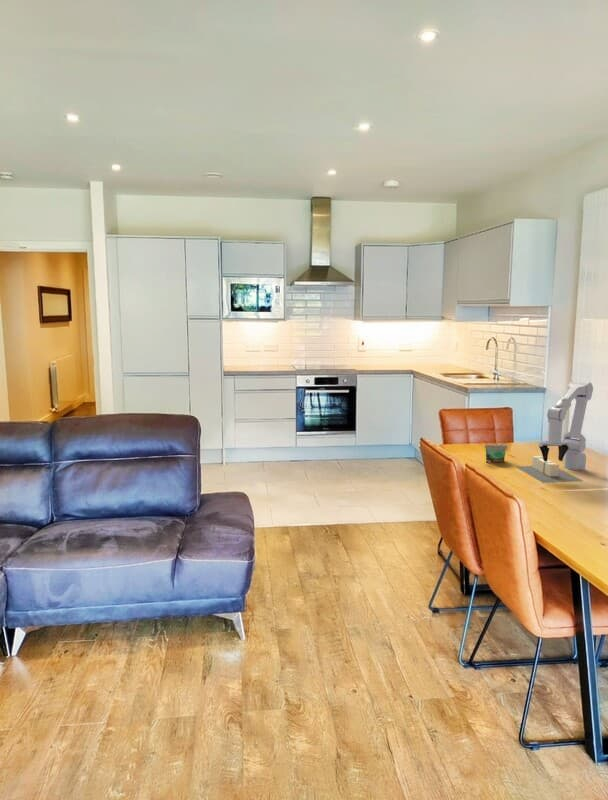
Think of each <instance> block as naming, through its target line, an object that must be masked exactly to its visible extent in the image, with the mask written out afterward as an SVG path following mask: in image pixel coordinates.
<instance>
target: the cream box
mask: <svg viewBox="0 0 608 800" xmlns="http://www.w3.org/2000/svg"><path fill="white" fill-rule="evenodd" d="M545 463H554V462H553V461H551V460H549V459H547V462H546V461H543V456H542V455H539V456H538V455H537V456H535V455H534V456H532V462H531V464H532V465H531V466H532V467H533V468H535V469H536V470H538V471H540V472H542V473H544V470H545Z"/></svg>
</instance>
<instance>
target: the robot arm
mask: <svg viewBox="0 0 608 800" xmlns="http://www.w3.org/2000/svg"><path fill="white" fill-rule="evenodd" d="M593 392H594V387H593V384H592V382H589V381H588V382H585V381H577V380H576V381H575V380H570V381H569V382H568V386H567V392H566V394H565V395H564V397H561V398H560V399H559V400H558V401H556V403H555V405H554V406H552V407H549V409H548V410H547V414H546V416H547V422H548V431H547V433H548V434H547V440H543V441H538V443H537V444H538V447H539V449H540V452H541V456H542V457H543V461H546V462H547V460H549V459H548V457H549V452H550V448H549V447H558V456H557V457H558V461H560V462H563V468H564V469H567V470H572V471H574V470H575V471H576V470H582V471H583V472H586V471H587V469H586V463H587V455H586V453H585V452H584V451H585V449H586V441H587V439H586V437H585V436H584V434H582V428H583V424H584V420H585V414H586V410H587V405H588V401H591V399H592V396H593ZM574 400H575V406H574V411H573V416H572V419H571V425H570V430H569V431H568V432H567V433H565V434H562V433H563V432H562V431H563V421H565V419H566V416H567V413H568V412H567V411H568V410H569V409H570V407H571V406H572V401H574ZM562 435H563V438H562Z"/></svg>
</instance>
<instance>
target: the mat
mask: <svg viewBox="0 0 608 800" xmlns="http://www.w3.org/2000/svg"><path fill="white" fill-rule="evenodd" d="M515 468H517V469H518V470H520V471H522V472H524V473H526V474H527V475H529V476H530V477H533V478H534V479H535V480H537V481H539V482H541V483H543V484H545V483H568V482H569V483H570V482H571V483H572V482H584V480H583V479H581V478H579V477H577V476H575V475H573V474H571V473H569V472H567V471H565V470H563V469H561V468H559V473H558V476H548V475H546V474H544V473H542V472H540V471H538V470H536V469H535V468H533V467H532V465H522V466H521V465H520V466H519V465H518V466H515Z"/></svg>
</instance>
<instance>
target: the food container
mask: <svg viewBox="0 0 608 800" xmlns="http://www.w3.org/2000/svg"><path fill="white" fill-rule="evenodd" d="M484 449H485V462H486V463H487V464H490V465H491V463H492V464H494V463H495V464H502V463H505V457H506V451H507V449H508V445H507V443H506V442H504V443H503V444H487V443H486V444H485V445H484Z"/></svg>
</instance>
